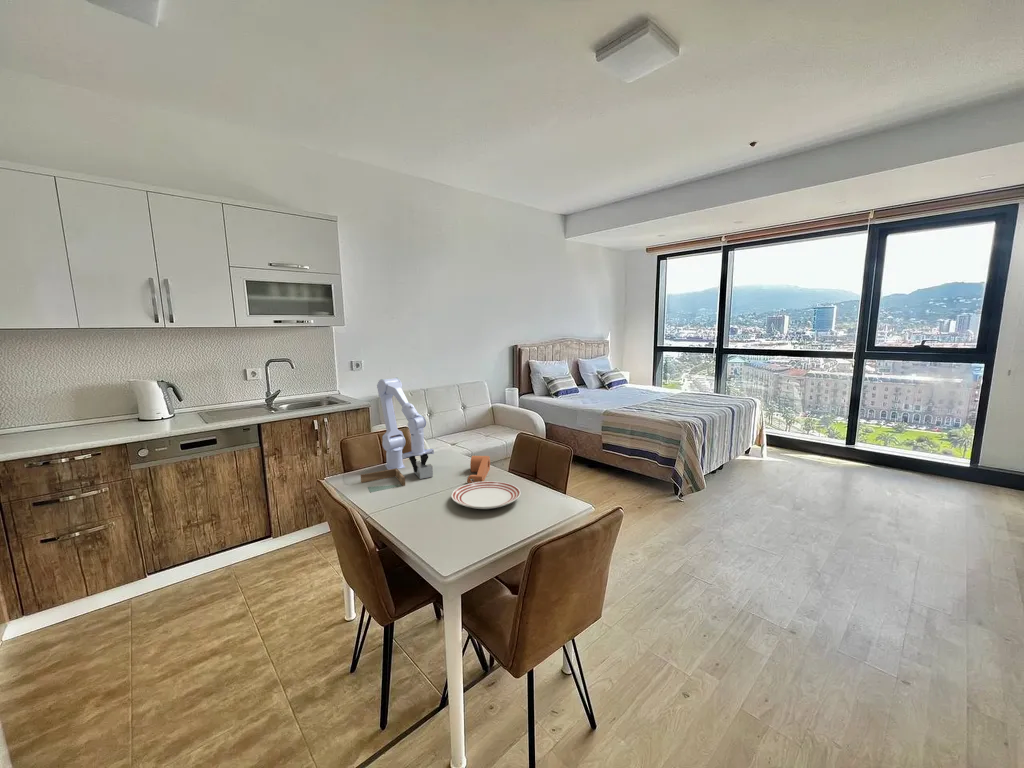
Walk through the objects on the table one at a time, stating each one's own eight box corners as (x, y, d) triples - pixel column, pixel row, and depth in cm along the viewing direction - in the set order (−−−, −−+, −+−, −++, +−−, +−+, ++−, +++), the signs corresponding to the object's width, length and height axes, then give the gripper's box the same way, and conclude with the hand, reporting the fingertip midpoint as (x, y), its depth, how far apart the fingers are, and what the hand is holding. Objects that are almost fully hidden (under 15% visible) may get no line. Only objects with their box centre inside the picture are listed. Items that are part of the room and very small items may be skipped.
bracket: (413, 472, 187) (413, 461, 186) (426, 469, 190) (425, 459, 189) (420, 479, 179) (419, 468, 178) (432, 476, 182) (432, 466, 181)
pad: (367, 487, 172) (367, 486, 172) (397, 481, 178) (397, 480, 178) (370, 492, 166) (370, 492, 166) (401, 486, 172) (401, 485, 172)
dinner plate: (449, 490, 168) (449, 482, 168) (512, 484, 174) (512, 477, 173) (453, 519, 141) (453, 510, 141) (528, 511, 147) (528, 502, 146)
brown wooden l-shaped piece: (361, 483, 176) (360, 474, 176) (397, 476, 184) (396, 468, 184) (366, 494, 164) (366, 484, 164) (405, 486, 172) (404, 477, 172)
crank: (474, 469, 193) (473, 453, 192) (490, 469, 192) (489, 453, 192) (464, 484, 174) (463, 467, 173) (482, 485, 173) (481, 467, 172)
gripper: (404, 446, 176) (405, 476, 178) (435, 442, 183) (436, 470, 185) (400, 443, 182) (401, 471, 184) (430, 438, 189) (431, 466, 191)
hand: (418, 470), depth 185 cm, fingers closed on bracket, 3 cm apart
